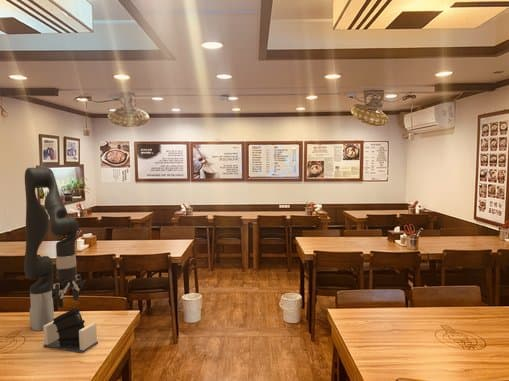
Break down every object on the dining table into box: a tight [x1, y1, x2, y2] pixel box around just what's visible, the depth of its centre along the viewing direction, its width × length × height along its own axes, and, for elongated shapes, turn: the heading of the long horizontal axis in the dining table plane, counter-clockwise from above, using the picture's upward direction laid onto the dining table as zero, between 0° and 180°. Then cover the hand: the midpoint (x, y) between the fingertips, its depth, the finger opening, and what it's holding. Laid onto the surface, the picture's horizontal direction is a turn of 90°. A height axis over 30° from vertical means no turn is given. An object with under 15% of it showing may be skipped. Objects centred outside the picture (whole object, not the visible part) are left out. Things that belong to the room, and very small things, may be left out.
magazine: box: [53, 306, 85, 345], centre depth 164 cm, size 4×13×15 cm, turn 80°
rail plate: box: [42, 339, 99, 354], centre depth 164 cm, size 20×9×1 cm, turn 73°
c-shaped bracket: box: [42, 321, 98, 350], centre depth 164 cm, size 20×8×8 cm, turn 73°
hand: (68, 303), depth 163 cm, fingers open, 8 cm apart
